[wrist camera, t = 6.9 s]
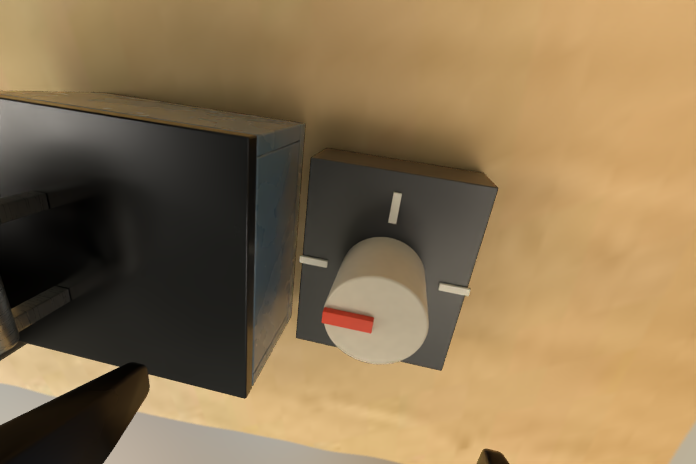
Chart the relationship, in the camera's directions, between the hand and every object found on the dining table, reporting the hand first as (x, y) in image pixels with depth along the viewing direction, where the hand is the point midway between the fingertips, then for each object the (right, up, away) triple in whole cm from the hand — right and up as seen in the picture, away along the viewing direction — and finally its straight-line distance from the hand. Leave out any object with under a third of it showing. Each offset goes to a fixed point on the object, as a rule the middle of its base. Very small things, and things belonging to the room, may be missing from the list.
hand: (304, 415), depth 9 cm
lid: (-9, +4, +6) cm, 11 cm away
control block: (+3, +4, +10) cm, 11 cm away
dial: (+3, +3, +7) cm, 8 cm away
